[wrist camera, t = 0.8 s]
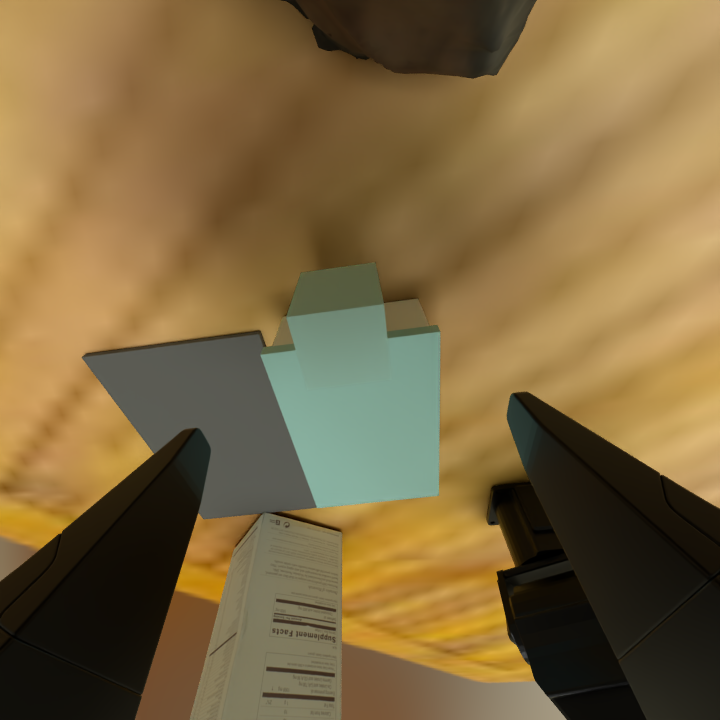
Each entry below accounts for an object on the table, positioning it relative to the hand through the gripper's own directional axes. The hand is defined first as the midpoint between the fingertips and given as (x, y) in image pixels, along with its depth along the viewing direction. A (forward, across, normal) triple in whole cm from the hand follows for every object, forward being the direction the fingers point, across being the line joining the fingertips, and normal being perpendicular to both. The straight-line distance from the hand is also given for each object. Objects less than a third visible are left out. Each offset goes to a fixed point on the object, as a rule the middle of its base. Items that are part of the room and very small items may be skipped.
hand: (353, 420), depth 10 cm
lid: (+9, 0, +7) cm, 11 cm away
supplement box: (+12, +11, +29) cm, 33 cm away
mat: (+12, +12, +13) cm, 22 cm away
